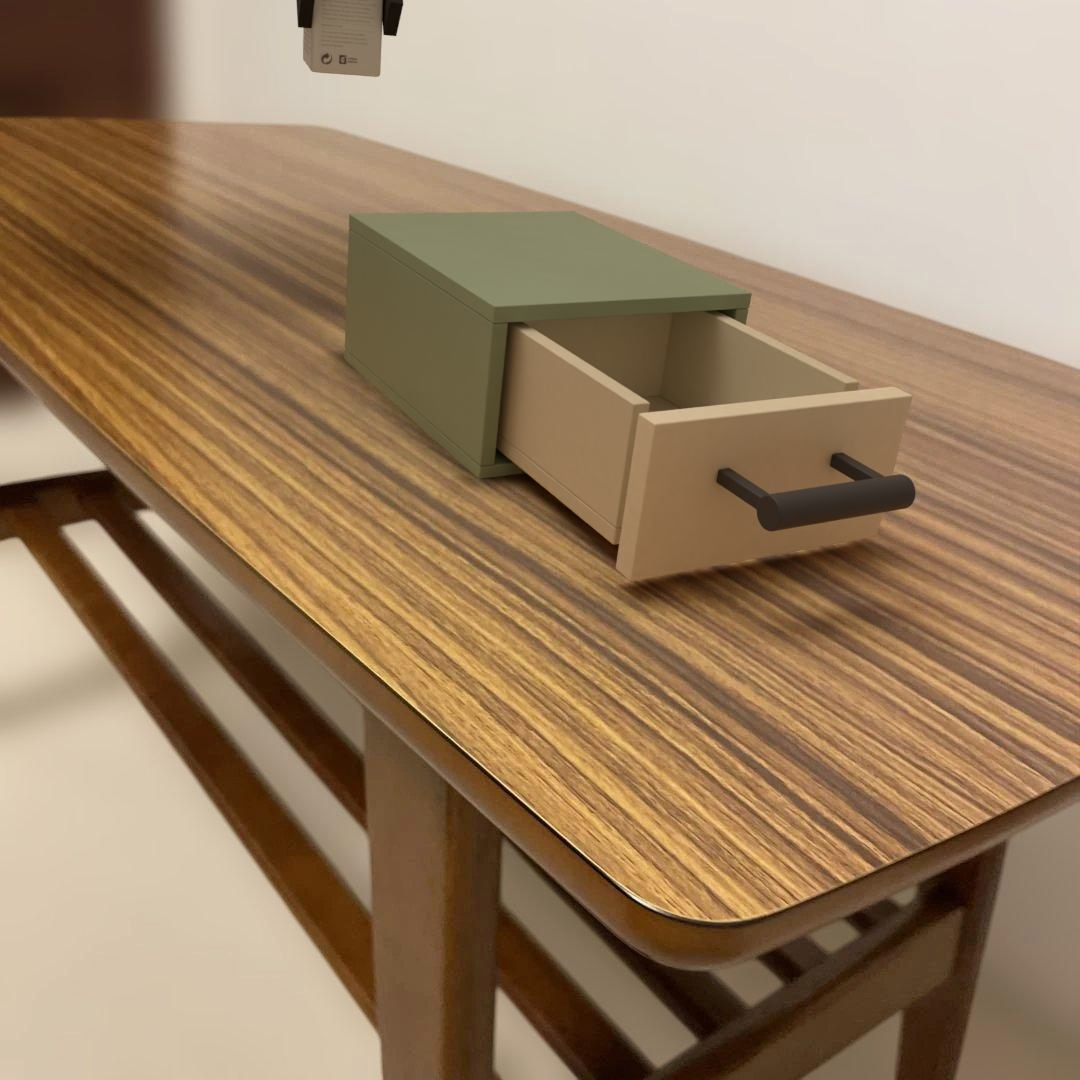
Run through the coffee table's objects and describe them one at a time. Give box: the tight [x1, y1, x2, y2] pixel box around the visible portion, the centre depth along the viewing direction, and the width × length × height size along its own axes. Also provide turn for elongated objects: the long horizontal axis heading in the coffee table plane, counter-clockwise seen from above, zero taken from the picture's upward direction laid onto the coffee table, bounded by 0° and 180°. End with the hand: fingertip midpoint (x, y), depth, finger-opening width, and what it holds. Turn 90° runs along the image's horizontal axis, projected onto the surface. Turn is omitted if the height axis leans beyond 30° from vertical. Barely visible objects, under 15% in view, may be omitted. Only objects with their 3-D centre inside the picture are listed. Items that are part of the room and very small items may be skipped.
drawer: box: [496, 310, 917, 582], centre depth 56 cm, size 21×13×7 cm, turn 29°
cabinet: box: [343, 210, 753, 480], centre depth 67 cm, size 18×15×9 cm
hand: (350, 14), depth 71 cm, fingers closed on cosmetic box, 4 cm apart
